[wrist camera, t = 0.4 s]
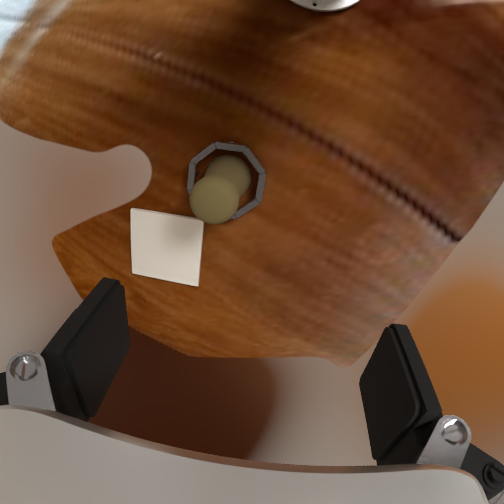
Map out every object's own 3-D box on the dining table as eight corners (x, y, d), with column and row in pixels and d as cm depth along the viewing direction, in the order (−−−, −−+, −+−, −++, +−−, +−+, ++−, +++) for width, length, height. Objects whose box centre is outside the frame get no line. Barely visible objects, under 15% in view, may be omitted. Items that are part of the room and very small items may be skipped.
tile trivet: (132, 207, 45) (130, 209, 44) (204, 219, 45) (203, 220, 44) (133, 271, 50) (132, 273, 49) (198, 284, 50) (198, 286, 49)
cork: (209, 200, 43) (187, 235, 34) (202, 157, 41) (176, 179, 31) (253, 196, 42) (244, 230, 33) (248, 152, 40) (236, 172, 30)
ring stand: (195, 135, 39) (191, 138, 37) (271, 146, 39) (271, 149, 37) (188, 205, 44) (184, 211, 42) (259, 217, 44) (258, 223, 42)
